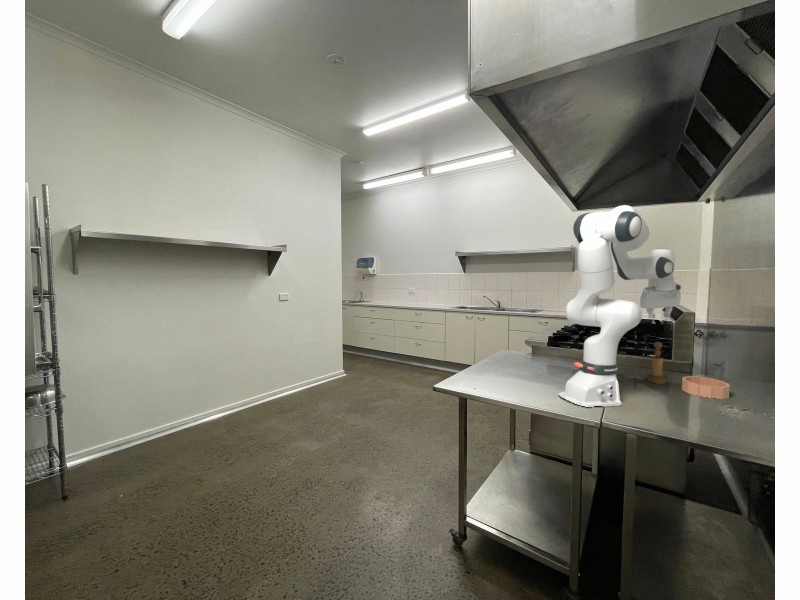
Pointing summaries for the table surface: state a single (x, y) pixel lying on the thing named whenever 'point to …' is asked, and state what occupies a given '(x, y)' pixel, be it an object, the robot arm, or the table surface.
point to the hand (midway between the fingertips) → (659, 317)
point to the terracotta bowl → (705, 387)
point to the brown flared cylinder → (656, 366)
